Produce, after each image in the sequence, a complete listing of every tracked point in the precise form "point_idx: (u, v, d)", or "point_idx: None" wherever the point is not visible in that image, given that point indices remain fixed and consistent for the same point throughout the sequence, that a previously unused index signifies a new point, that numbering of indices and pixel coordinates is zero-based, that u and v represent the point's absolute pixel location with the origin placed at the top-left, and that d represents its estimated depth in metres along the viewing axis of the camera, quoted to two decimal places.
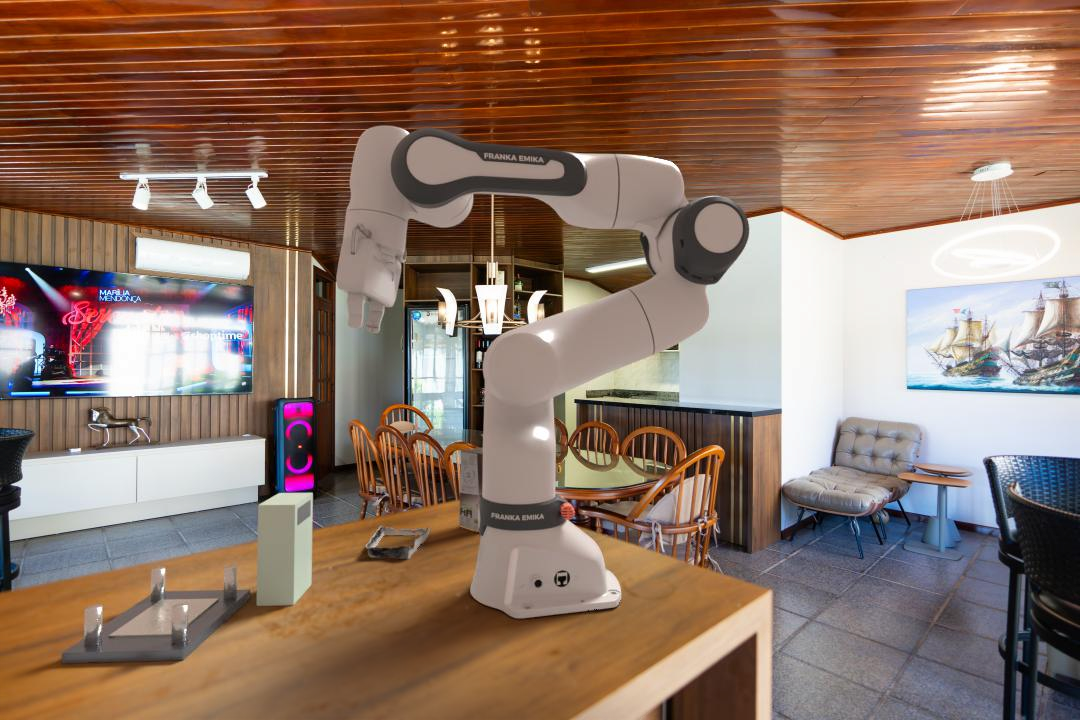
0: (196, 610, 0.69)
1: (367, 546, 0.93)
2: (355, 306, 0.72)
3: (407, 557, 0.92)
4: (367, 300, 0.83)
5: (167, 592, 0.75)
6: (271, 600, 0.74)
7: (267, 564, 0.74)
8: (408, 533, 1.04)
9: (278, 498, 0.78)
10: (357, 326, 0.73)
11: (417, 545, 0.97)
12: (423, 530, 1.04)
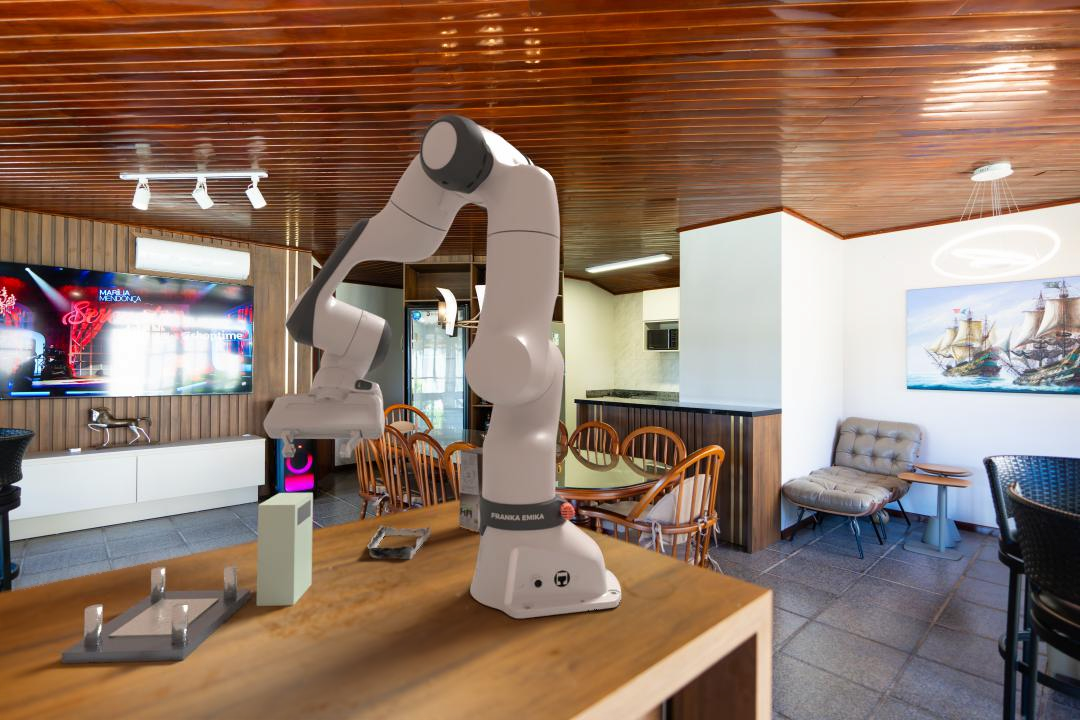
0: (196, 610, 0.69)
1: (369, 546, 0.93)
2: None
3: (409, 557, 0.92)
4: (349, 436, 0.94)
5: (167, 592, 0.75)
6: (271, 600, 0.74)
7: (267, 564, 0.74)
8: (409, 533, 1.04)
9: (278, 498, 0.77)
10: (282, 452, 0.89)
11: (419, 545, 0.97)
12: (424, 530, 1.04)
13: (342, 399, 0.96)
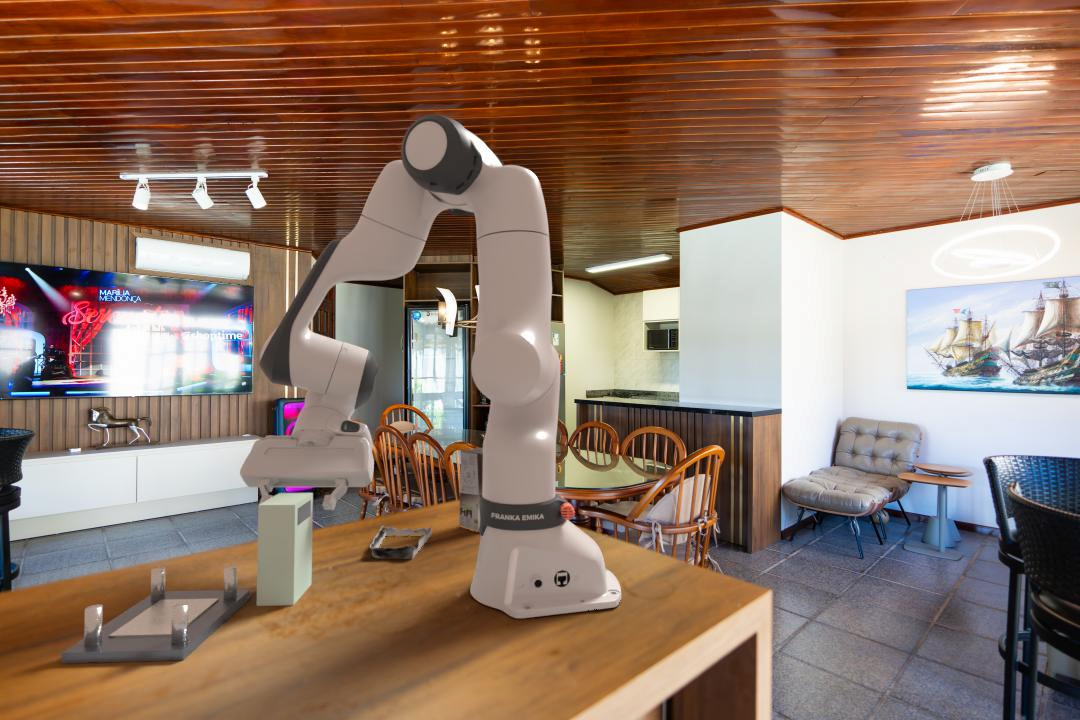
0: (196, 610, 0.69)
1: (371, 546, 0.92)
2: None
3: (412, 557, 0.92)
4: (334, 484, 0.86)
5: (167, 592, 0.75)
6: (271, 600, 0.74)
7: (267, 564, 0.74)
8: (410, 533, 1.04)
9: (278, 498, 0.77)
10: None
11: (421, 545, 0.97)
12: (425, 530, 1.04)
13: (327, 443, 0.88)
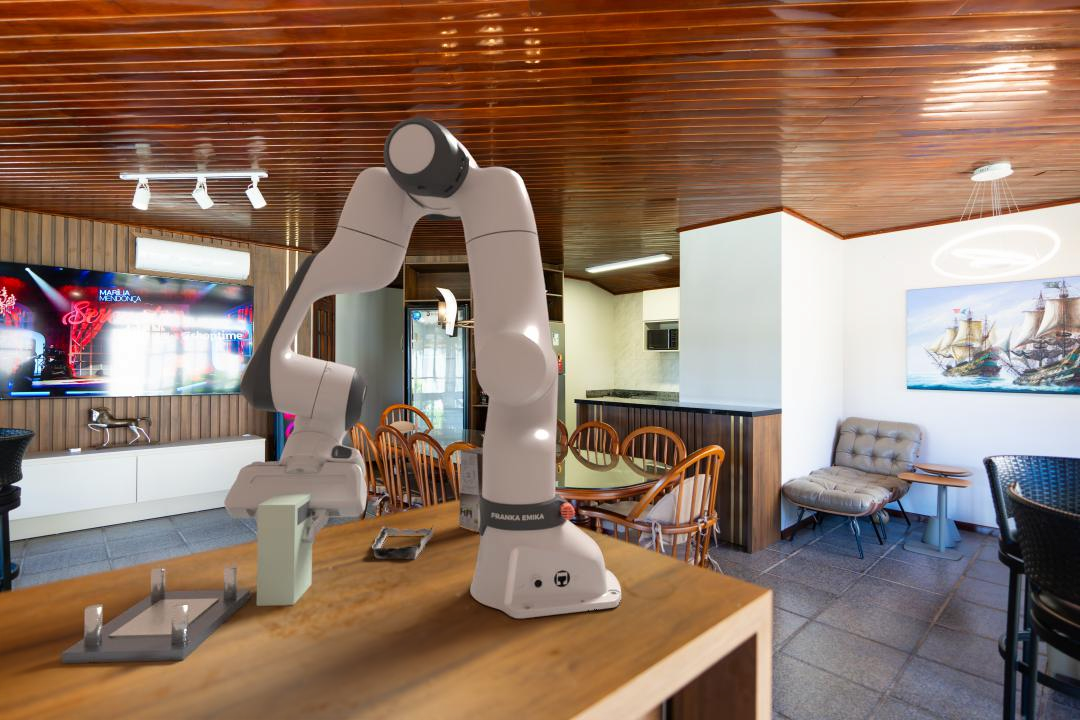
0: (196, 610, 0.69)
1: (373, 547, 0.92)
2: None
3: (414, 557, 0.92)
4: None
5: (167, 592, 0.75)
6: (271, 600, 0.74)
7: (267, 564, 0.74)
8: (411, 533, 1.04)
9: (278, 498, 0.77)
10: None
11: (423, 545, 0.97)
12: (426, 530, 1.04)
13: (317, 470, 0.83)
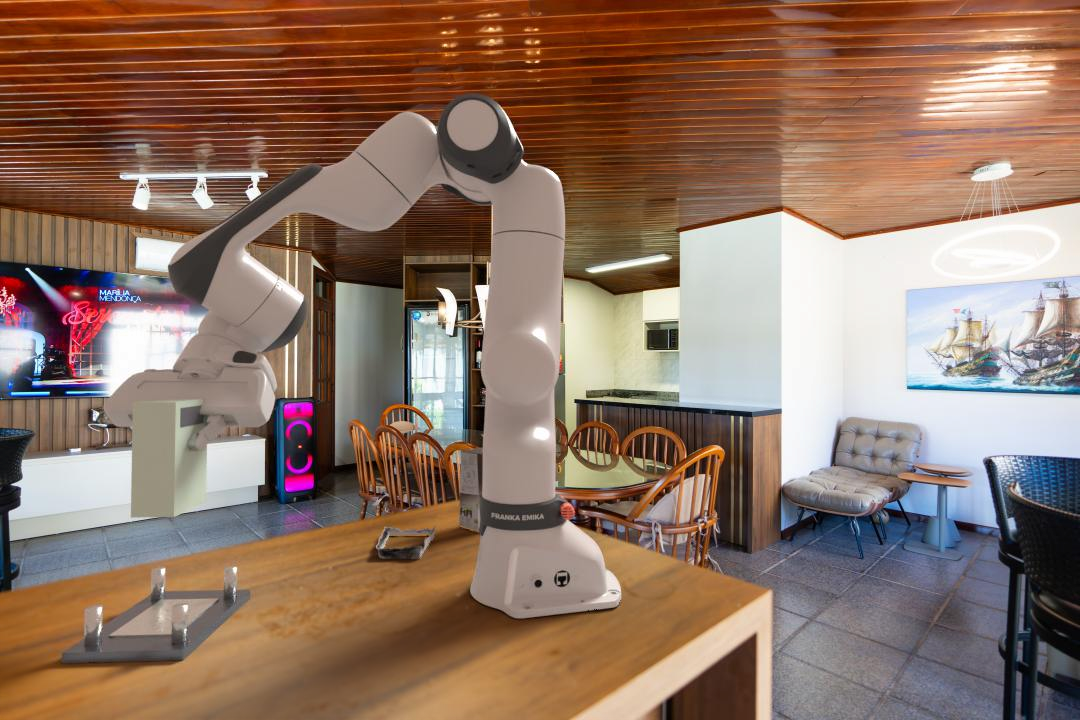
0: (196, 610, 0.69)
1: (377, 547, 0.92)
2: None
3: (418, 557, 0.92)
4: None
5: (167, 592, 0.75)
6: (148, 511, 0.64)
7: (143, 470, 0.64)
8: (414, 533, 1.04)
9: None
10: None
11: (426, 545, 0.97)
12: (429, 530, 1.04)
13: (215, 375, 0.74)
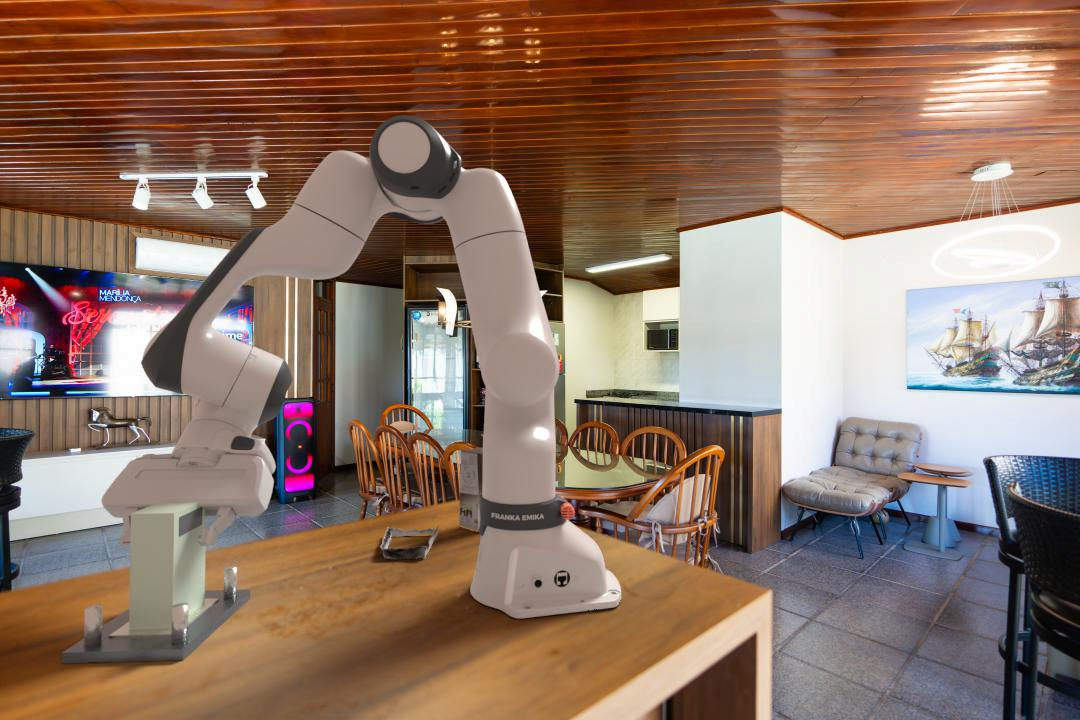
0: (196, 610, 0.69)
1: (382, 547, 0.92)
2: None
3: (423, 557, 0.92)
4: None
5: None
6: (146, 623, 0.64)
7: (142, 582, 0.64)
8: (416, 533, 1.04)
9: (161, 505, 0.68)
10: None
11: (430, 545, 0.97)
12: (431, 530, 1.04)
13: (213, 463, 0.74)
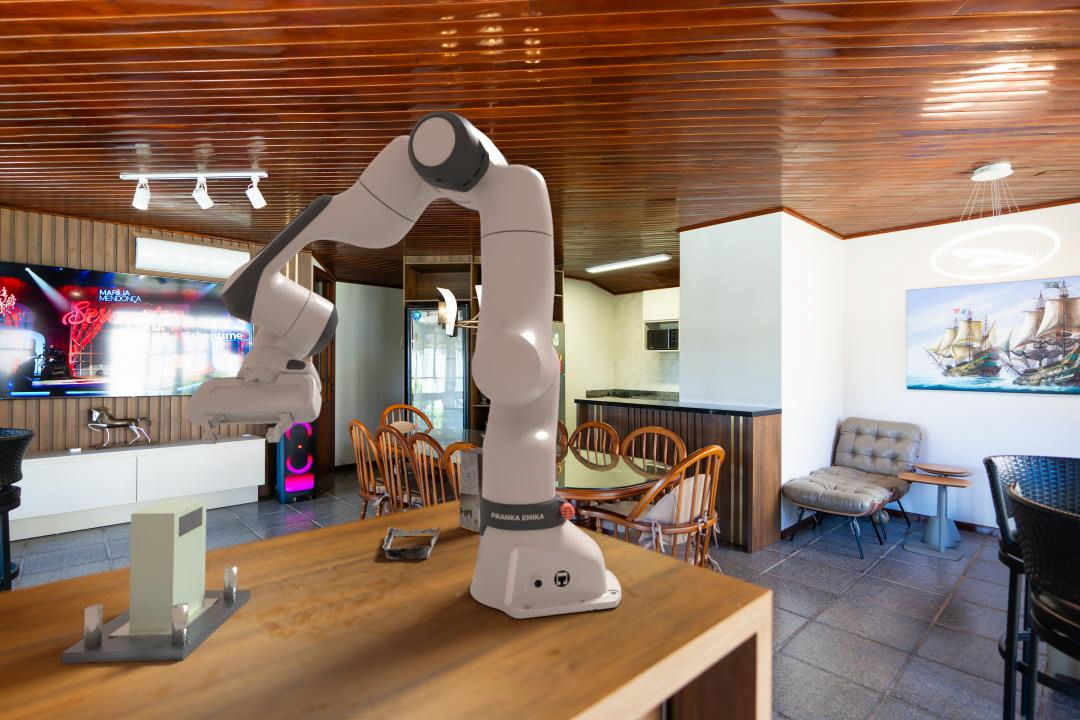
0: (196, 610, 0.69)
1: (385, 548, 0.92)
2: None
3: (426, 557, 0.92)
4: (280, 420, 0.87)
5: None
6: (146, 623, 0.64)
7: (142, 582, 0.64)
8: (418, 534, 1.04)
9: (161, 505, 0.68)
10: (203, 439, 0.81)
11: (432, 545, 0.97)
12: (433, 530, 1.05)
13: (272, 380, 0.89)
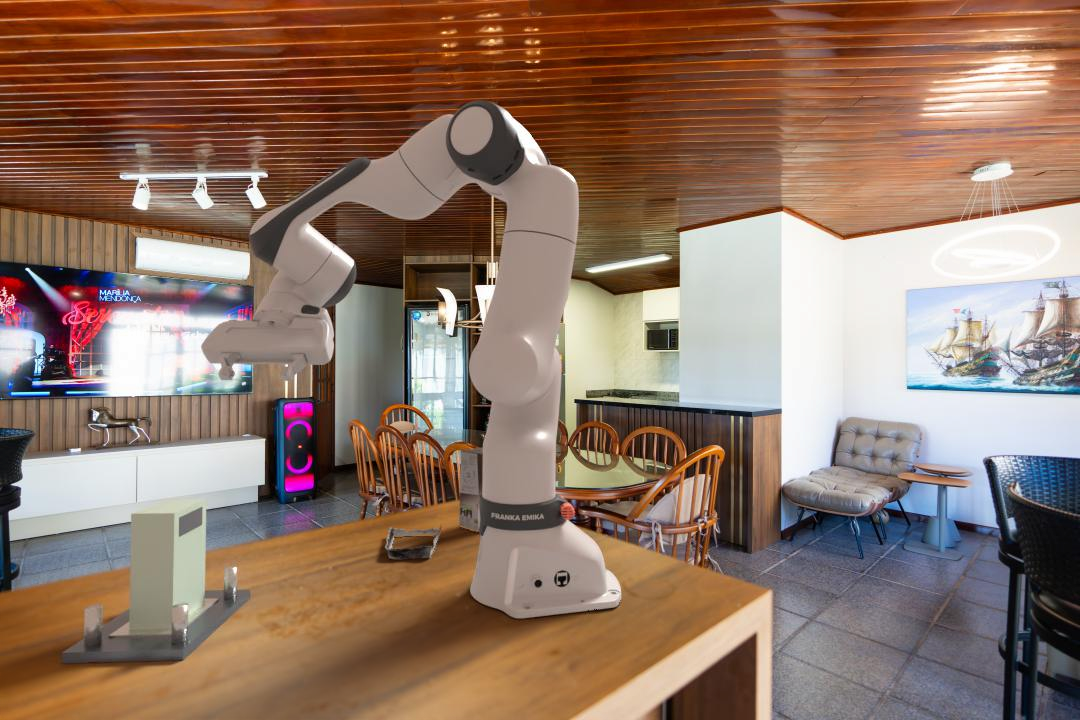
0: (196, 610, 0.69)
1: (387, 548, 0.92)
2: None
3: (429, 557, 0.92)
4: (293, 361, 0.89)
5: None
6: (146, 623, 0.64)
7: (142, 582, 0.64)
8: (419, 534, 1.04)
9: (161, 505, 0.68)
10: (219, 374, 0.84)
11: (434, 545, 0.97)
12: (434, 530, 1.05)
13: (287, 324, 0.91)
